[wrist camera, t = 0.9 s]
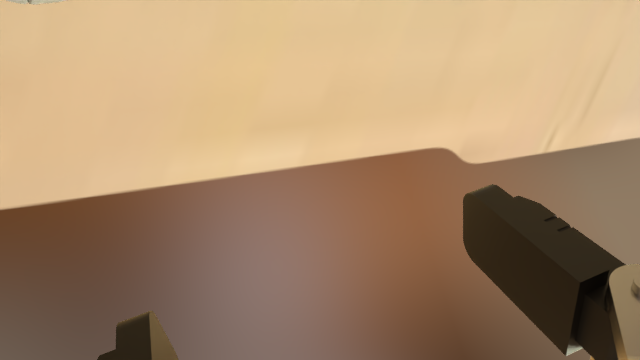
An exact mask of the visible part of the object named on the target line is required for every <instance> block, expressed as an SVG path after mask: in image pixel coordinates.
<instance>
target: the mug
mask: <svg viewBox="0 0 640 360" xmlns="http://www.w3.org/2000/svg"><path fill="white" fill-rule="evenodd" d="M7 1H10V2H15V3H21V4H27V3H30V4H42V3H55V2H61V1H66V0H7Z"/></svg>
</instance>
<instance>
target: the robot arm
mask: <svg viewBox="0 0 640 360" xmlns="http://www.w3.org/2000/svg"><path fill="white" fill-rule="evenodd" d="M463 241H464V245H465V248H466V250H467V253H468V255H469V256H470V258H471V259H472V261H473V262H474V263H475V264H476V265H477V266H478V267H479V268H480V269H481V270H482V271H483V272H484V273H485V274H486V275H487V276H488V277H489V278H490V279H491V280H492V281H493V282H494V283H495V284H496V285H497V286H498V287H499V288H500V289H501V290H502V291H503V292H504V293H505V295H506V296H507V297H508V298H510V300H511V301H513V303H515V305H516V306H517V307H518V308H519V309H520V310H521V311H522V312H523V313H524V314H525V315H526V316H527V317H528V318H529V319H530V320H531V321H532V322H533V323H534V324H535V325H536V326H537V327H538V328H539V329H540V330H541V331H542V332H543V333H544V334H545V335H546V336H547V337H548V338H549V339H550V340H551V341H552V342H553V343H554V344H555V345H556V346H557V347H558V349H560V350H561V352H562V353H563V354H564V355H565V356H567V355H569V354H571V353H573V352H575V351H577V350H580V349H582V348H584V349H585V350H586V351H587V352H588V353H589V354H590V355H591V357H590V360H640V264H630V265H626V264H624V263H622V262H621V261H620V260H618V259H617V258H615V257H614V256H612V255H611V254H610V253H608V252H607V251H606V250H604V249H603V248H601V247H600V246H599V245H597V244H596V243H594V242H593V241H592V240H590V239H589V238H587V237H586V236H585V235H583V234H582V233H580V232H579V231H578V230H576V229H575V228H571V227H570V225H569V224H568V223H566V222H565V221H563V220H562V219H561V218H557V217H556V215H555V214H554V213H552V212H551V211H550V210H548V209H547V208H545V207H544V206H542V205H541V204H539V203H537V202H534V201H532V200H529V199H526V198H523V197H521V196H516V197H514V198H513V197H512V196H511V195H509V194H508V193H507V192H505V191H504V190H503V189H501V188H500V187H499V186H497V185H493V184H492V185H489V186H486V187H484V188H481V189H478V190H476V191H473V192H470V193H467V194H466V195H465V196H464V199H463ZM97 360H178V357H177V355H176V352H175V351H174V348H173V347H172V345H171V343H170V341H169V339H168V337H167V335H166V333H165V332H164V330H163V328H162V326H161V324H160V322H159V320H158V318H157V317H156V315H155V313H154V312H153V311H149V312H146V313H144V314H141V315H138V316H135V317H133V318H130V319H128V320H125V321H122V322H119V323H118V324H117V327H116V349H115V350H113V351H110V352H108V353H105V354H103V355H100V356H99V357H98V359H97Z"/></svg>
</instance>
